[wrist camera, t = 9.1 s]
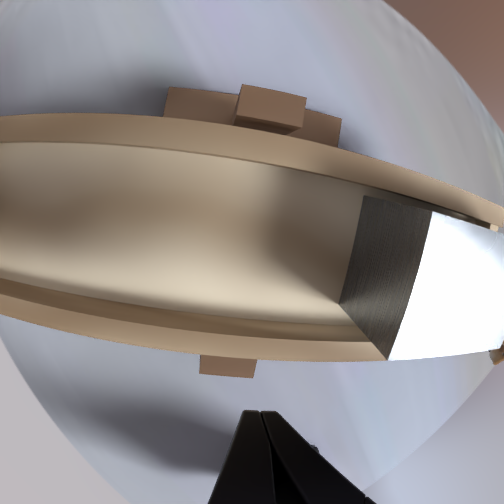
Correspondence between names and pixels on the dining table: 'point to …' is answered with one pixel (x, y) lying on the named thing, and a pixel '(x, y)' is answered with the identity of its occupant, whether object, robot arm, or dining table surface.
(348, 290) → the block
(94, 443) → the dining table surface
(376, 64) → the dining table surface
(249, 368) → the stand
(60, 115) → the beam
